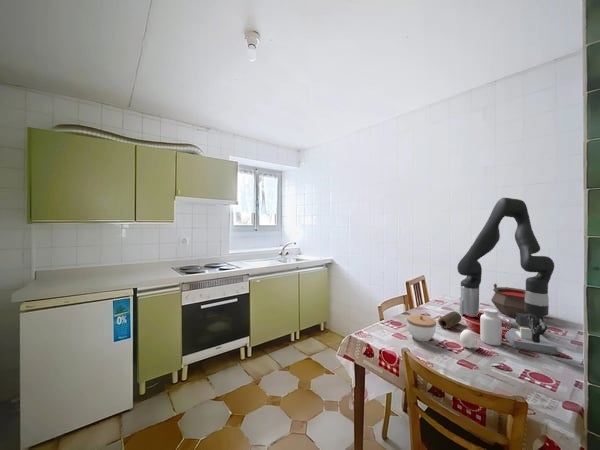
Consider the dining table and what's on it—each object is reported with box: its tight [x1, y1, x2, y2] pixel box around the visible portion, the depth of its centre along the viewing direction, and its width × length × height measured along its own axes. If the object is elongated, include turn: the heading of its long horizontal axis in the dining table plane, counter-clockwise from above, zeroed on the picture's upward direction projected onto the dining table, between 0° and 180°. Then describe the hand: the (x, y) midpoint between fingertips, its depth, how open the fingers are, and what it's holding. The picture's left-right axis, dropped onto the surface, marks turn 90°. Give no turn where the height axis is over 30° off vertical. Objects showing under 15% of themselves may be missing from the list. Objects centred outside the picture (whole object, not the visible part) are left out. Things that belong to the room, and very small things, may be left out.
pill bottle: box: [479, 308, 503, 346], centre depth 118 cm, size 8×8×15 cm
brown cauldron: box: [490, 283, 529, 318], centre depth 153 cm, size 24×24×16 cm
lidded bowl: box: [406, 314, 437, 343], centre depth 122 cm, size 13×13×11 cm
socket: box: [502, 326, 557, 355], centre depth 117 cm, size 14×16×4 cm
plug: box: [515, 313, 529, 329], centre depth 130 cm, size 5×5×8 cm
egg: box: [459, 329, 478, 349], centre depth 113 cm, size 6×6×8 cm
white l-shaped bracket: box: [516, 327, 532, 339], centre depth 117 cm, size 6×6×4 cm
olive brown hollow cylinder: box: [437, 311, 462, 329], centre depth 136 cm, size 15×7×7 cm, turn 129°
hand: (535, 342), depth 109 cm, fingers closed
